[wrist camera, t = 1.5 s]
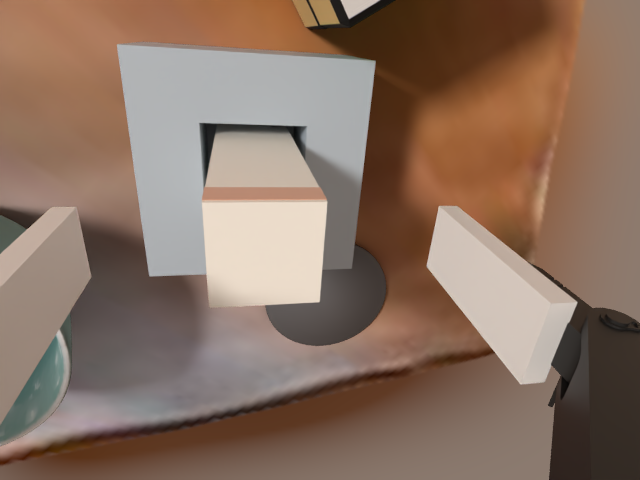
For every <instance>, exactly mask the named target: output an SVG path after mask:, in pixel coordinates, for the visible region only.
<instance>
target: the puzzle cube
mask: <svg viewBox="0 0 640 480" xmlns="http://www.w3.org/2000/svg"><path fill="white" fill-rule="evenodd" d="M292 1H293V3H294V5H295V7H296V9H297V11H298V13H299V15H300V17H301V19H302V21H303V23H304V25H305V27H307V28H309V29H312V30H313V29H327V28H350V27H352V26H354V25H355V24H357V23H359V22H360V21H362V20H364V19H365V18H367V17H369V16H370V15H372V14H374V13H375V12H377V11H379V10H380V9H382V8H383V7H385V6H387V5H388V4H390V3H392V2H393V1H395V0H292Z"/></svg>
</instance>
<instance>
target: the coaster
mask: <svg viewBox="0 0 640 480" xmlns="http://www.w3.org/2000/svg"><path fill="white" fill-rule="evenodd" d="M385 295H386V280H385V276H384V273H383V271H382V268H381V267H380V265H379V263H378V262H377V260H376V259H375V258H374V257H373V256H372V255H371V254H370V253H369V252H368V251H366V250H365V249H363V248H362V247H360V246H357V245H354V254H353V263H352V269H331V270H322V278H321V291H320V302H314V303H296V304H277V305H266V310H267V314H268V317H269V319H270V321H271V323H272V324H273V326H274V327H275V328H276V329H277V330H278V331H279V332H280V333H281V334H282V335H284V336H285V337H287V338H288V339H290V340H292V341H295V342H298V343H301V344H305V345H313V346H323V345H331V344H335V343H339V342H342V341H345V340H347V339H349V338H351V337H353V336H355V335H357V334H358V333H360V332H361V331H362V330H364V329H365V328H366V327H367V326H368V325H369V324H370V323H371V322H372V321H373V320H374V319H375V317H376V316H377V315H378V313H379V311H380V309H381V307H382V305H383V302H384V299H385Z"/></svg>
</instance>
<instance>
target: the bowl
mask: <svg viewBox="0 0 640 480" xmlns="http://www.w3.org/2000/svg"><path fill="white" fill-rule="evenodd" d="M26 230H27V229H25V228H24V227H22V226H21V225H19V224H17V223H16V222H14V221H12V220H10V219H8V218H6V217H4V216H1V215H0V254H1V253H2V252H3V251H4V250H5V249H6V248H7V247H8V246H10V245H11V244H12V243H13V242H14V241H15V240H16V239H17V238H18V237H19V236H20V235H22V234H23V233H24V232H25V231H26ZM71 370H72V342H71V317H70V313H69V314H68V316H67V318H66V319H65V321H64V322H63V324H62V326H61V327H60V329H59V331H58V332H57V334H56V335H55V337H54V339H53V340H52V342H51V344H50V345H49V347H48V348H47V350H46V352H45V353H44V355H43V357H42V358H41V360H40V361H39V363H38V365H37V366H36V368H35V370H34V371H33V373H32V374H31V376H30V378H29V379H28V381H27V383H26V384H25V386H24V387H23V389H22V391H21V392H20V394H19V396H18V397H17V399H16V400H15V402H14V404H13V405H12V407H11V409H10V410H9V412H8V413H7V415H6V417H5V418H4V420H3V422H2V423H1V425H0V446H2V445H5V444H8V443H10V442H12V441H14V440H16V439H18V438H20V437H22V436H24V435H26V434H28V433H29V432H31V431H32V430H34V429H35V428H37V427H38V426H40V425H41V424H42V423H44V422H45V421H46V420H47V419H48V418H49V417H50V416H51V415H52V414H53V413H54V411H55V410H56V409H57V408H58V406H59V405H60V403H61V402H62V400H63V398H64V396H65V394H66V392H67V389H68V386H69V382H70V377H71Z"/></svg>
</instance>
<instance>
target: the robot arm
mask: <svg viewBox="0 0 640 480" xmlns="http://www.w3.org/2000/svg"><path fill="white" fill-rule="evenodd" d="M427 268H428V269H429V270H430V272H431V273H432V274H433V275H434V277H435V278H436V279H437V280H438V282H439V283H440V284H441V285H442V287H443V288H444V289H445V290H446V292H447V293H448V294H449V295H450V297H451V298H452V299H453V300H454V302H455V303H456V304H457V305H458V307H459V308H460V309H461V310H462V312H463V313H464V314H465V315H466V317H467V318H468V319H469V320H470V322H471V323H472V324H473V325H474V327H475V328H476V329H477V330H478V332H479V333H480V334H481V335H482V337H483V338H484V339H485V341H486V342H487V343H488V344H489V346H490V347H491V348H492V349H493V351H494V352H495V353H496V354H497V356H498V357H499V358H500V359H501V361H502V362H503V363H504V364H505V366H506V367H507V368H508V369H509V371H510V372H511V373H512V374H513V376H514V377H515V378H516V379H517V381H518V382H519V383H520V384H532V383H542V382H545V380H546V378H547V375H548V373H549V370H550V368H551V366H553V367H554V368H555V369H556V370H557V371H558V372H559V374H560V375H561V376H560V379H559V381H558V383H557V386H556V388H555V390H554V392H553V395H552V398H551V399H550V402H549V404H548V406H550V407H553V405H554V403H555V410H554V424H553V437H552V449H551V461H550V475H549V480H640V323H639V322H637V321H636V320H635V319H632V318H631V317H629V316H628V315H626V314H623V313H620V312H618V311H615V310H611V309H606V308H592V307H590V306H589V305H588V304H586V303H585V302H584V301H583V300H581V299H580V298H579V297H577V296H576V295H575V294H573V293H572V292H571V291H570V290H568V289H567V288H566V287H563V285H562V284H560V282H558V281H557V280H554V278H553V277H552V276H551V275H549V274H548V273H547V272H545V271H544V270H543V269H541V268H539V267H537V266H535V265H533V264H531V263H529V262H527V261H525V260H524V259H523V258H522V257H520V256H519V255H518V254H517V253H515V252H514V251H513V250H512V249H510V248H509V247H508V246H507V245H505V244H504V243H503V242H501V241H500V240H499V239H498V238H496V237H495V236H494V235H493V234H491V233H490V232H489V231H488V230H486V229H485V228H484V227H483V226H481V225H480V224H479V223H478V222H476V221H475V220H474V219H473V218H471V217H470V216H469V215H468V214H466V213H465V212H464V211H463V210H461V209H460V208H459V207H458V206H439V209H438V214H437V218H436V223H435V228H434V233H433V238H432V243H431V247H430V252H429V257H428V262H427ZM90 279H91V272H90V268H89V263H88V258H87V254H86V249H85V244H84V239H83V235H82V230H81V225H80V220H79V216H78V211H77V207H51V208H50V209H49V210H48V211H47V212H46V213H45V214H43V215H42V216H41V217H40V218H39V219H38V220H37V221H36V222H35V223H34V224H32V225H31V226H30V227H29V228H28V229H27V230H26V231H25V232H24V233H23V234H22V235H20V236H19V237H18V238H17V239H16V240H15V241H14V242H13V243H12V244H11V245H10V246H8V247H7V248H6V249H5V250H4V251H3V252H2V253H1V254H0V425H1V423H2V422H3V420H4V418H5V417H6V415H7V413H8V412H9V410H10V409H11V407H12V405H13V404H14V402H15V400H16V399H17V397H18V396H19V394H20V392H21V391H22V389H23V387H24V386H25V384H26V383H27V381H28V379H29V378H30V376H31V374H32V373H33V371H34V370H35V368H36V366H37V365H38V363H39V361H40V360H41V358H42V357H43V355H44V353H45V352H46V350H47V348H48V347H49V345H50V344H51V342H52V340H53V339H54V337H55V335H56V334H57V332H58V331H59V329H60V327H61V326H62V324H63V322H64V321H65V319H66V318H67V316H68V314H69V313H70V311H71V309H72V308H73V306H74V305H75V303H76V301H77V300H78V298H79V296H80V295H81V293H82V292H83V290H84V288H85V287H86V285H87V283H88V282H89V280H90Z"/></svg>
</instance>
